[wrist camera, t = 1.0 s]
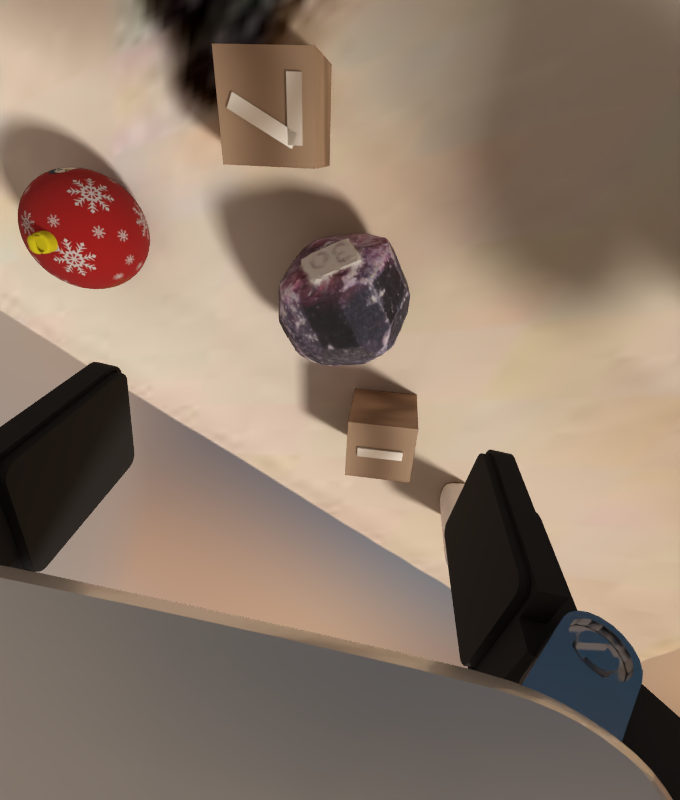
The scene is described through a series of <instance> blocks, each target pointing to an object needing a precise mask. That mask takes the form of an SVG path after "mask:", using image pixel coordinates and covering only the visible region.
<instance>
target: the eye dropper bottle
mask: <svg viewBox="0 0 680 800" xmlns="http://www.w3.org/2000/svg"><path fill="white" fill-rule="evenodd" d="M463 487H464V484H463V483H449V484H447V485H445V487H444V488H443V490H442V493H441V496H440V510H441V521H442V531H443V542H444V552H445V559H446V562H447V565H448V561H447V553H446V545H445V538H444V530H445V525H446V522H447V520H448V518H449V516H450V514H451V512H452V510H453V507H454V505H455V503H456V501H457V499H458V497H459V495H460V493H461V491H462V489H463Z"/></svg>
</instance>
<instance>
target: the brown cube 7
mask: <svg viewBox="0 0 680 800" xmlns="http://www.w3.org/2000/svg"><path fill="white" fill-rule="evenodd" d="M212 51H213V62H214V72H215V82H216V93H217V103H218V114H219V124H220V135H221V145H222V155H223V164H228V165H249V166H271V167H292V168H313V169H315V168H320V167H326V166H329V165H330V114H331V63H330V62H329V61H328V60H327V59H326V57H325V56H324V55H323V54H322V53H321V52H320V50H319V49H318V48H317V47H316V46H315V45H267V44H212Z"/></svg>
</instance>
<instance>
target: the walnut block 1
mask: <svg viewBox="0 0 680 800" xmlns="http://www.w3.org/2000/svg"><path fill="white" fill-rule="evenodd" d="M417 434H418V414H417V395H415V394H405V393H395V392H384V391H374V390H364V389H355V392H354V397H353V401H352V406H351V411H350V415H349V420H348V433H347V451H346V469H345V475H350V476H359V477H367V478H376V479H384V480H393V481H401V482H409V483H410V476H411V470H412V464H413V458H414V452H415V446H416V440H417Z"/></svg>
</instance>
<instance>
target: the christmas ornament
mask: <svg viewBox="0 0 680 800" xmlns="http://www.w3.org/2000/svg"><path fill="white" fill-rule="evenodd" d="M18 224H19V229H20V233H21V236H22V239H23V241H24V243H25V245H26V247H27V249H28V251H29V252H30V253H31V255H32V256H33V257H34V259H35V260H36V261H37V262H38V263H39V264H40V265H41V266H42V267H43V268H44V269H45V270H47V271H48V272H49V273H51V274H52V275H54V276H55V277H57V278H58V279H60V280H62V281H64V282H67V283H69V284H72V285H75V286H78V287H82V288H89V289H105V288H111V287H115V286H118V285H120V284H123V283H125V282H126V281H128V280H130V279H131V278H132V277H133V276H135V275H136V274H137V273H138V272H139V270H140V269H141V268H142V266H143V264H144V263H145V261H146V258H147V255H148V252H149V246H150V235H149V229H148V224H147V221H146V218H145V216H144V214H143V212H142V210H141V208H140V207H139V205H138V204H137V202H136V201H135V199H134V198H133V197H132V196H131V195H130V194H129V193H128V192H127V191H126V190H125V189H124V188H123V187H122V186H121V185H119V184H118V183H117V182H115V181H114V180H112V179H110V178H108V177H107V176H105V175H103V174H100V173H97V172H95V171H92V170H88V169H83V168H73V167H67V168H58V169H54V170H51V171H48V172H46V173H44V174H42V175H40V176H39V177H37V178H36V179H35V180H34V181H32V182H31V183H30V184H29V186H28V187H27V188H26V190H25V191H24V193H23V195H22V197H21V200H20V203H19V208H18Z"/></svg>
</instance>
